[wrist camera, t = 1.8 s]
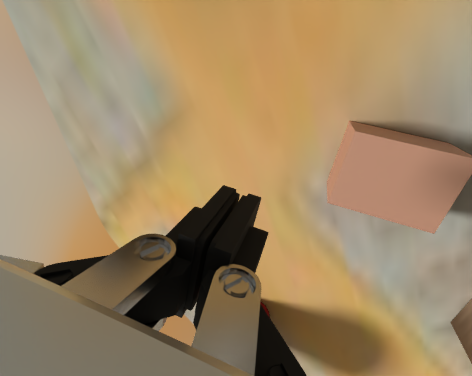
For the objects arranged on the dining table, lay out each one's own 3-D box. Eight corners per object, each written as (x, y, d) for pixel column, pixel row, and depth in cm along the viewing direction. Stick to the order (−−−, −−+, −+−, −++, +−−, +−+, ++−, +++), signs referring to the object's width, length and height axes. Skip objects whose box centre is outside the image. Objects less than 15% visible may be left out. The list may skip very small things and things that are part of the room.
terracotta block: (349, 120, 23) (355, 131, 19) (448, 142, 21) (480, 160, 17) (326, 181, 26) (327, 202, 21) (414, 204, 24) (434, 233, 20)
